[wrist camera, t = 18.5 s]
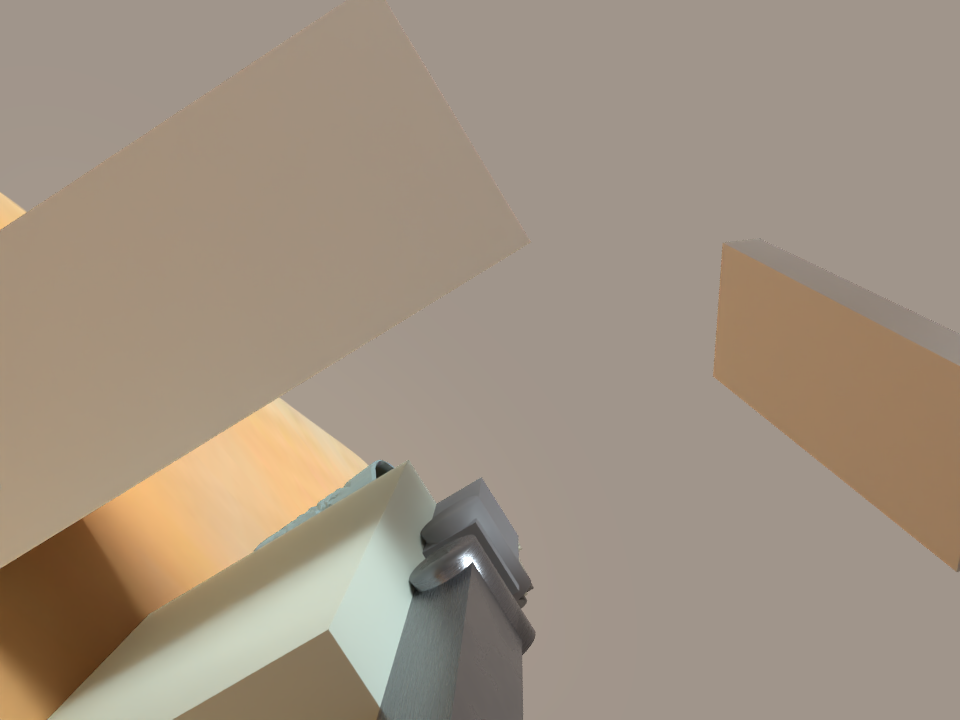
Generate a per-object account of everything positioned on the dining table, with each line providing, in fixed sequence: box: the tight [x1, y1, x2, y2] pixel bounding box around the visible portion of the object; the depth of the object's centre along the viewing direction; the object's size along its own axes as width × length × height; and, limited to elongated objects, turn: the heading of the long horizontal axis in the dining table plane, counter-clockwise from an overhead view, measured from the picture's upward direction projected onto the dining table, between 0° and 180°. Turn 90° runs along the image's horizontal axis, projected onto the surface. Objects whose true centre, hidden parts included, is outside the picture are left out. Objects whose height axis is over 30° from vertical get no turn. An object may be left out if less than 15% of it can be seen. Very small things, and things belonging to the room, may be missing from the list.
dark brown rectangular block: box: [376, 535, 535, 720], centre depth 31 cm, size 20×5×3 cm, turn 174°
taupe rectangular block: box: [0, 0, 531, 568], centre depth 43 cm, size 12×12×30 cm
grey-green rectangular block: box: [47, 460, 531, 720], centre depth 41 cm, size 22×10×21 cm, turn 175°
